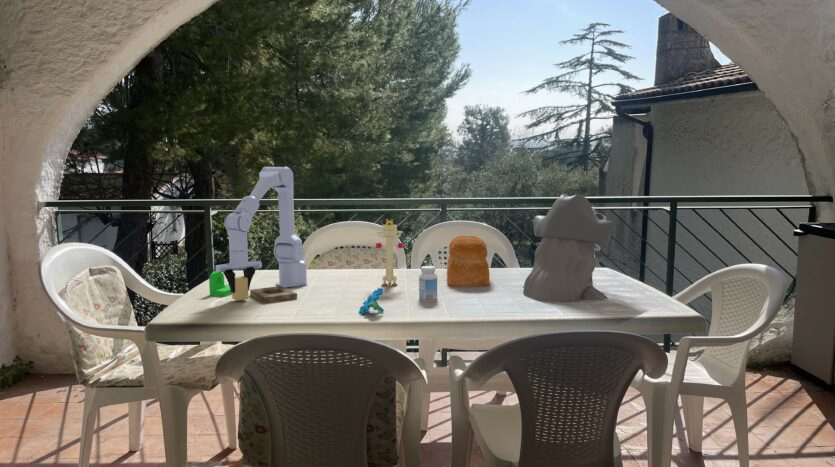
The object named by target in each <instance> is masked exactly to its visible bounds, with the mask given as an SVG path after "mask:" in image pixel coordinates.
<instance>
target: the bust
mask: <svg viewBox="0 0 835 467" xmlns="http://www.w3.org/2000/svg"><path fill="white" fill-rule="evenodd" d="M596 214H598V215H601V216H602V217H603V219H599V217H597V215H596ZM614 227H615V222H614V221H612V220H609V219H608V220H607V216H606V215H604V214H603V213H599V212H596V207H595V208H593V207H592V206H591V202H590V201H589V200H588V198H586V196H583V195H582V194H579V193H578V194H574V195H571V196H569V195H568V194H567V193H563V194H561V195H560V196H559V197H558V198H556V200H554V202H553V204H552V206H551V207H550V209H549V210H548V212H547V214H546V215H535V216H534V217H533V232H534V233H533V234H534V236H535V237H540V238H541V237H542V238H541V241H540V242H539V244H538V246H537V247H536V249H535V251H534V263H533V266H532V270H531V272H530V273H529V274H528V276H527V277H526V279H525V280H524V284H523V286H522V287H523V288H524V289H523V288H522V289H523V290H522V293H523V295H524V296H526V297H528V298H530V299H531V300H534V301H540V302H549V303H550V302H552V303H553V302H557V303H559V302H560V303H575V302H579V301H580V300H587V301H603V300H604V301H605V300H608V298H609V297H607V295H605V294H604V293H603V292H602V291H600V290H599V289H598V288H595V286H594V284H593V283H594V281H593V273H594V271H595V267H596V257H595V251H596V252H600V250H601V245H599V244H597V243H600V244H609V243H610V239H611V238H612V237H611V236H612V233H613V230H614V229H615V228H614Z"/></svg>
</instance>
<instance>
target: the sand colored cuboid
mask: <svg viewBox="0 0 835 467" xmlns="http://www.w3.org/2000/svg"><path fill="white" fill-rule="evenodd" d="M231 299H233V300H234V301H236V302H237V301H244V300H249V291H248V278H246V277H244V275H241V276H235V293H232V294H231Z"/></svg>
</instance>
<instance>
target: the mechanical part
mask: <svg viewBox="0 0 835 467" xmlns="http://www.w3.org/2000/svg"><path fill="white" fill-rule="evenodd" d="M208 280H209V284H208V285H209V296H214V297H228V296H230V295H231V296H232V292H231V290H230V286H229V283H228V284H225V275H224V273H223V271H221V272H216V270H214V271H212V273H210V275H209V279H208Z"/></svg>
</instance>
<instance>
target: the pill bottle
mask: <svg viewBox="0 0 835 467" xmlns="http://www.w3.org/2000/svg"><path fill="white" fill-rule="evenodd" d="M420 271H421V273H420V274H419V275H418V288H419V289H418V299H419V301H423V302H434V301H437V300H438V275H437V273H435V272H436V267H435V266H434V265H423V266H421V268H420Z"/></svg>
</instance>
